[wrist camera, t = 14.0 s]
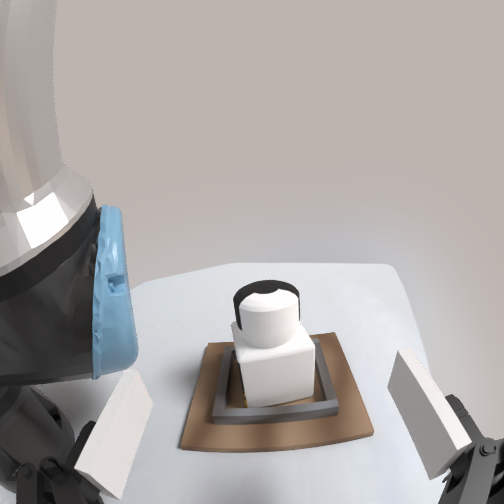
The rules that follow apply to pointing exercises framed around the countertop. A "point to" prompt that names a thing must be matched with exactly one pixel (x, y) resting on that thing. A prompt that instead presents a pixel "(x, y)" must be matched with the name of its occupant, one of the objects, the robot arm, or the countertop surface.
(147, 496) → the countertop surface
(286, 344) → the medicine bottle
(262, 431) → the dock
